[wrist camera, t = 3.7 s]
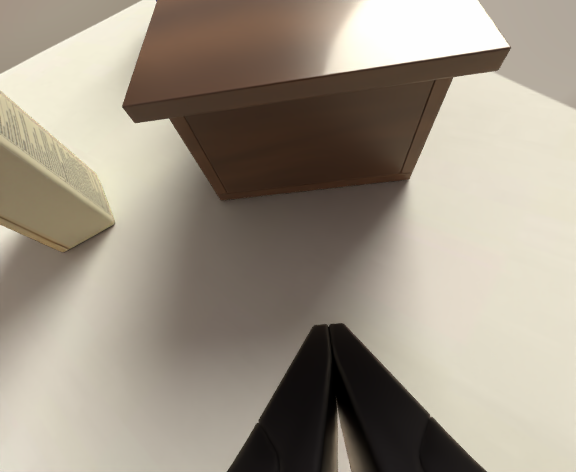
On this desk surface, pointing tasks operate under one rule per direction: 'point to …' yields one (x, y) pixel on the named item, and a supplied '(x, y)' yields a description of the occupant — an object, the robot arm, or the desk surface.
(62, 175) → the cosmetic box
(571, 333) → the desk surface
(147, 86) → the lid
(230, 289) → the desk surface
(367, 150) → the bin
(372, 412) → the robot arm
